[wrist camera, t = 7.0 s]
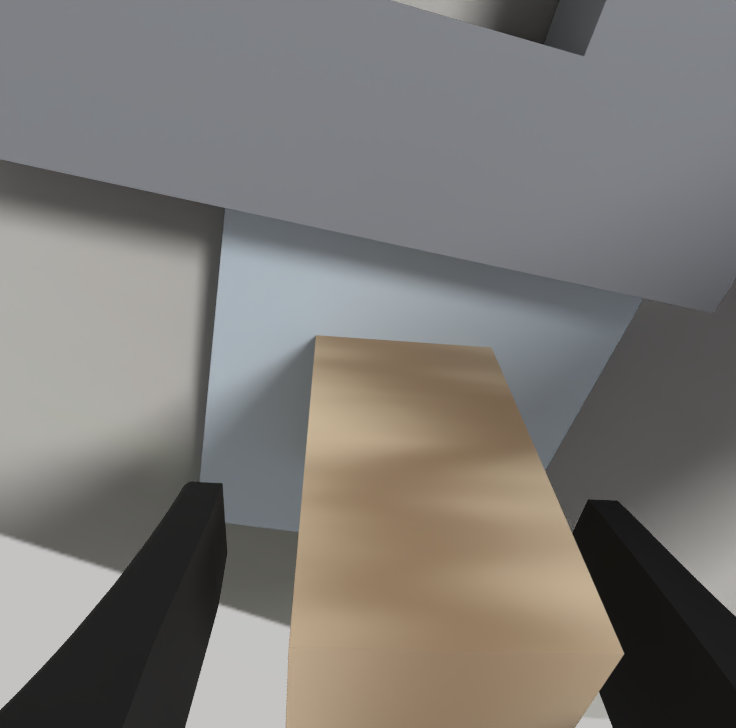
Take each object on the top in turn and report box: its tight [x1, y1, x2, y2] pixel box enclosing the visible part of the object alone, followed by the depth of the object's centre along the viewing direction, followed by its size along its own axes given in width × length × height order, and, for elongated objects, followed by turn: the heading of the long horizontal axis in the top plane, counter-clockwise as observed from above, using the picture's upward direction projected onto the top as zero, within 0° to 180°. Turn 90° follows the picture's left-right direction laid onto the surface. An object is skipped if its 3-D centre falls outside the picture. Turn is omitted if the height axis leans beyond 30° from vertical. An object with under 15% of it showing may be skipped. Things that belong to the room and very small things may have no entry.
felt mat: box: [199, 208, 643, 532], centre depth 14 cm, size 9×9×1 cm
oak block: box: [286, 335, 624, 728], centre depth 10 cm, size 4×4×7 cm
